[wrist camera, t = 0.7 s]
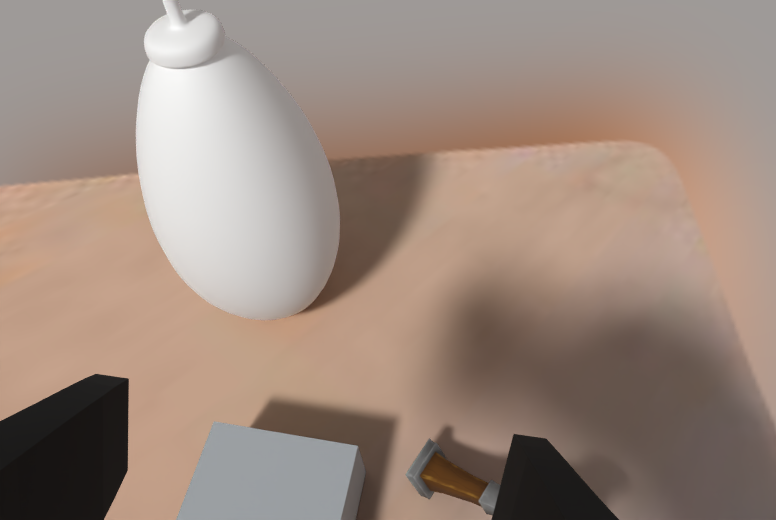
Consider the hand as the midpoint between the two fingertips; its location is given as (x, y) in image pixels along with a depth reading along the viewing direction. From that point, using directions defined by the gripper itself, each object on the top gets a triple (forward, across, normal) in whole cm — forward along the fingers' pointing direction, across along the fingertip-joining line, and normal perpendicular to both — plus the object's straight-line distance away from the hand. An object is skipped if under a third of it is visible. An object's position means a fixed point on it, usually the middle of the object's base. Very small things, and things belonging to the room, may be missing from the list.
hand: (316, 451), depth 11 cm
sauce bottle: (+20, +4, +6) cm, 22 cm away
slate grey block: (+10, +2, +12) cm, 16 cm away
